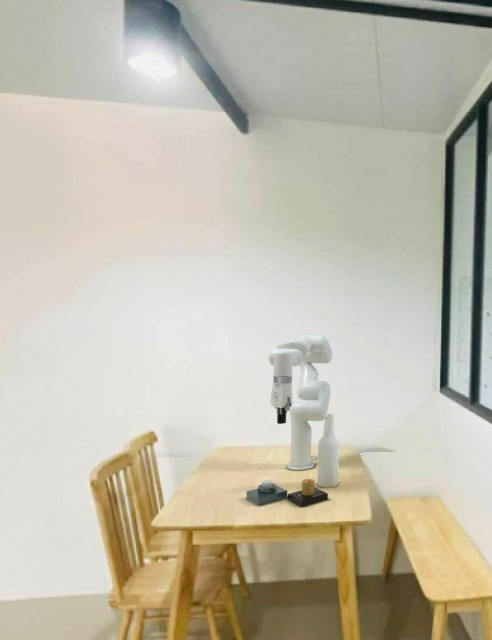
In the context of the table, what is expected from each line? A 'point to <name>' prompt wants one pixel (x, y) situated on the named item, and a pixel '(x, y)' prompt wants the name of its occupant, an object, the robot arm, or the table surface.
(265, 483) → the light grey short cylinder
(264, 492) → the push button box
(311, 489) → the dial
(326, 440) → the alcohol
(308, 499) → the dial plate
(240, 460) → the table surface
